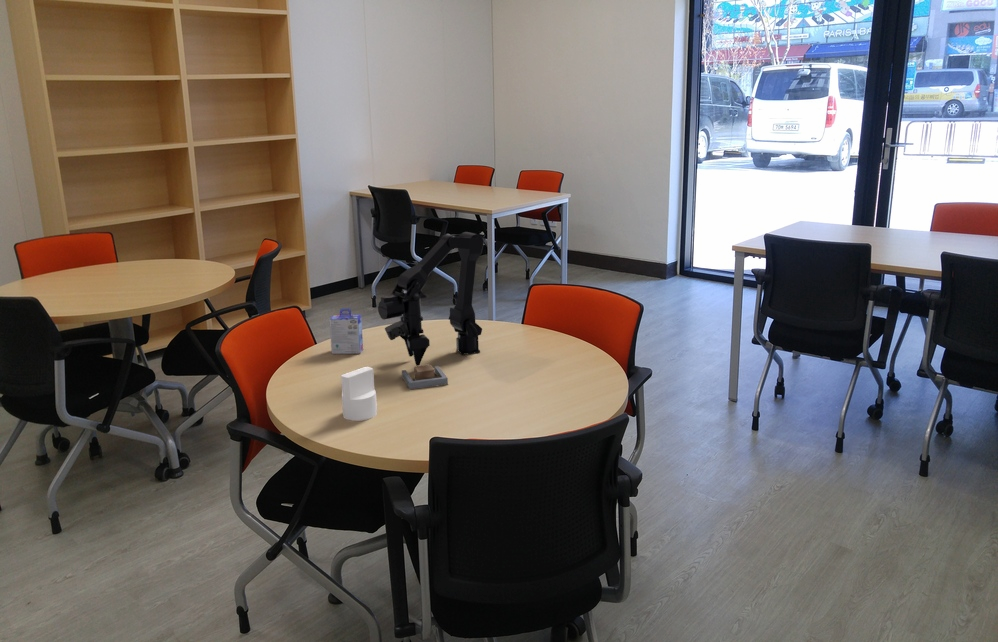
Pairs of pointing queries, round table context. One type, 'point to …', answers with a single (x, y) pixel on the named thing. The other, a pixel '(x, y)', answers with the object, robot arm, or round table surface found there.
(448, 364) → the round table surface
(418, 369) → the walnut block
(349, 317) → the ink cartridge box
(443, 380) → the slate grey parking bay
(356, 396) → the cylinder with rectangular tab
